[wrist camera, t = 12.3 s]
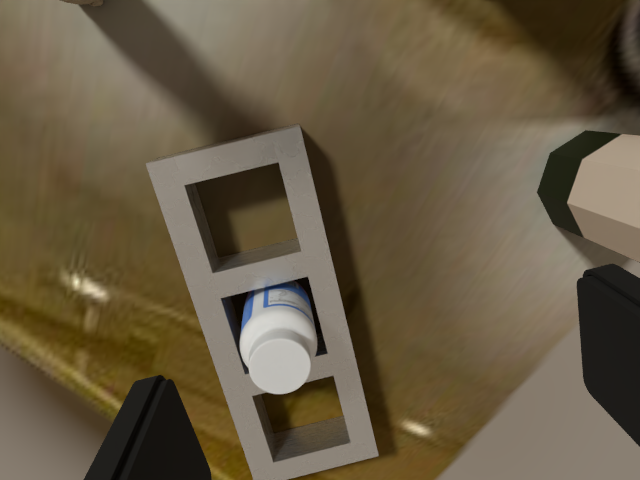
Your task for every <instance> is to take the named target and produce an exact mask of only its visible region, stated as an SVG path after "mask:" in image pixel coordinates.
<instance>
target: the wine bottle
mask: <svg viewBox="0 0 640 480" xmlns="http://www.w3.org/2000/svg"><path fill="white" fill-rule="evenodd" d="M537 193H538V195H539V197H540V199H541V201H542V203H543V205H544V207H545V209H546V211H547V213H548V215H549V217H550V219H551V221H552V223H553V224H555V225H557V226H559V227H561V228H564V229H566V230H568V231H570V232H573V233H575V234H577V235H579V236H581V237H584V238H586V239H588V240H590V241H593V242H595V243H597V244H599V245H602V246H604V247H606V248H608V249H611V250H613V251H615V252H617V253H619V254H622V255H624V256H626V257H628V258H631V259H633V260H635V261H637V262H640V136H637V135H627V134H617V133H606V132H596V131H584V132H583V133H581V134H579V135H578V136H576V137H575V138H573V139H572V140H570V141H568V142H567V143H565V144H564V145H562V146H561V147H559V148H558V149H556V150H554V151H553V152H551V153H550V155H549V158H548V161H547V164H546V167H545V170H544V173H543V176H542V179H541V182H540V185H539V188H538V191H537Z"/></svg>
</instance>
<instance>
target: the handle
mask: <svg viewBox="0 0 640 480" xmlns="http://www.w3.org/2000/svg"><path fill="white" fill-rule="evenodd" d="M61 1H64V2H68V3H73V4H90V5H92V6H100V5H102V4H103V0H61Z"/></svg>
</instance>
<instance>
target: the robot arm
mask: <svg viewBox="0 0 640 480" xmlns="http://www.w3.org/2000/svg"><path fill="white" fill-rule="evenodd" d="M577 296H578V310H579V324H580V338H581V353H582V367H583V378H584V383H585V386H586V388H587V390H588V391H589V393H590V394H591V395H592V397H593V398H594V399H595V400H596V401H597V402H598V403H599V404H600V405H601V406H602V407H603V408H604V409H605V410H606V411H607V412H608V414H610V416H611V417H612V418H613V419H614V420H615V421H616V422H617V423H618V424H619V425H620V426H621V427H622V428H623V429H624V430H625V432H627V434H628V435H629V436H631V438H632V439H633V440H634V441H635V442H636V443H637V444H638V445H639V446H640V278H638V277H636V276H635V275H633V274H631V273H630V272H628V271H626V270H624V269H623V268H621V267H619V266H617V265H615V264H609V265H605V266H601V267H597V268H593V269H588V270H586V271H585V272H584V274H583V278H579V279H578V281H577ZM84 480H211V472H210V468H209V465H208V463H207V461H206V458H205V456H204V453H203V451H202V449H201V446H200V444H199V441H198V439H197V437H196V434H195V432H194V429H193V427H192V424H191V422H190V420H189V417H188V415H187V412H186V410H185V408H184V405H183V403H182V400H181V398H180V396H179V393H178V391H177V388H176V386H175V384H174V382H173V381H172V380H171V379H168V380H166V379H165V378H164V377H163V376H162V375H158V376H154V377H150V378H146V379H142V380H138V381H135V382H134V384H133V385H132V387H131V389H130V391H129V393H128V395H127V397H126V399H125V401H124V403H123V405H122V407H121V409H120V410H119V412H118V414H117V416H116V418H115V420H114V422H113V424H112V426H111V428H110V430H109V432H108V434H107V436H106V438H105V440H104V442H103V443H102V445H101V447H100V449H99V451H98V453H97V455H96V457H95V459H94V461H93V463H92V465H91V467H90V469H89V471H88V472H87V474H86V476H85V478H84Z"/></svg>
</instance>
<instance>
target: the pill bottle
mask: <svg viewBox="0 0 640 480" xmlns="http://www.w3.org/2000/svg"><path fill="white" fill-rule="evenodd" d="M316 351H317V335H316V329H315V325H314V320H313V315H312V310H311V305H310V300H309V297H308V295H307V293H306V291H305V290H304V288H303V287H302V286H301V285H300V284H299V283H297V282H296V281H294V280H292V281H288V282H284V283H280V284H276V285H272V286H268V287H264V288H260V289H256V290H252V291H249V293H248V295H247V297H246V300H245V305H244V312H243V319H242V327H241V335H240V353H241V356H242V359H243V361H244V363H245V365H246V366H247V367H248V368H249V374H250V377H251V379H252V380H253V382H254V383H255V384H256V385H257V386H258V387H259V388H260V389H262V390H264V391H266V392H268V393H272V394H286V393H290V392H292V391H295V390H297V389H298V388H299V387H301V386H302V385H303V384H304V383H305V382H306V380H307V378H308V377H309V374H310V371H311V363H312V361H313V360H314V358H315V355H316Z"/></svg>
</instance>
